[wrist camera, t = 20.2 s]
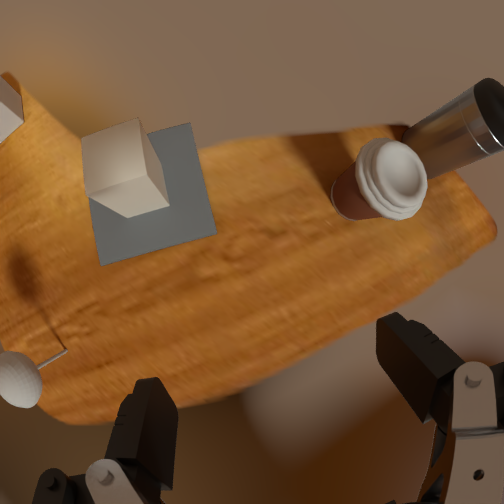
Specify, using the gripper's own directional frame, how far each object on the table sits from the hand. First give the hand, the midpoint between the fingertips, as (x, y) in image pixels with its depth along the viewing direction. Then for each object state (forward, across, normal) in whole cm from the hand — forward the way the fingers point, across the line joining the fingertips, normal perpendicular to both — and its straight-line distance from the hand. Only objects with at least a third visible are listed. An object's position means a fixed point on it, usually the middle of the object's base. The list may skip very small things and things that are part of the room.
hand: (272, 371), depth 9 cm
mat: (+27, +10, -7) cm, 29 cm away
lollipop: (+20, +27, +9) cm, 34 cm away
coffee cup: (+28, -16, +1) cm, 32 cm away
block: (+26, +10, -7) cm, 29 cm away
